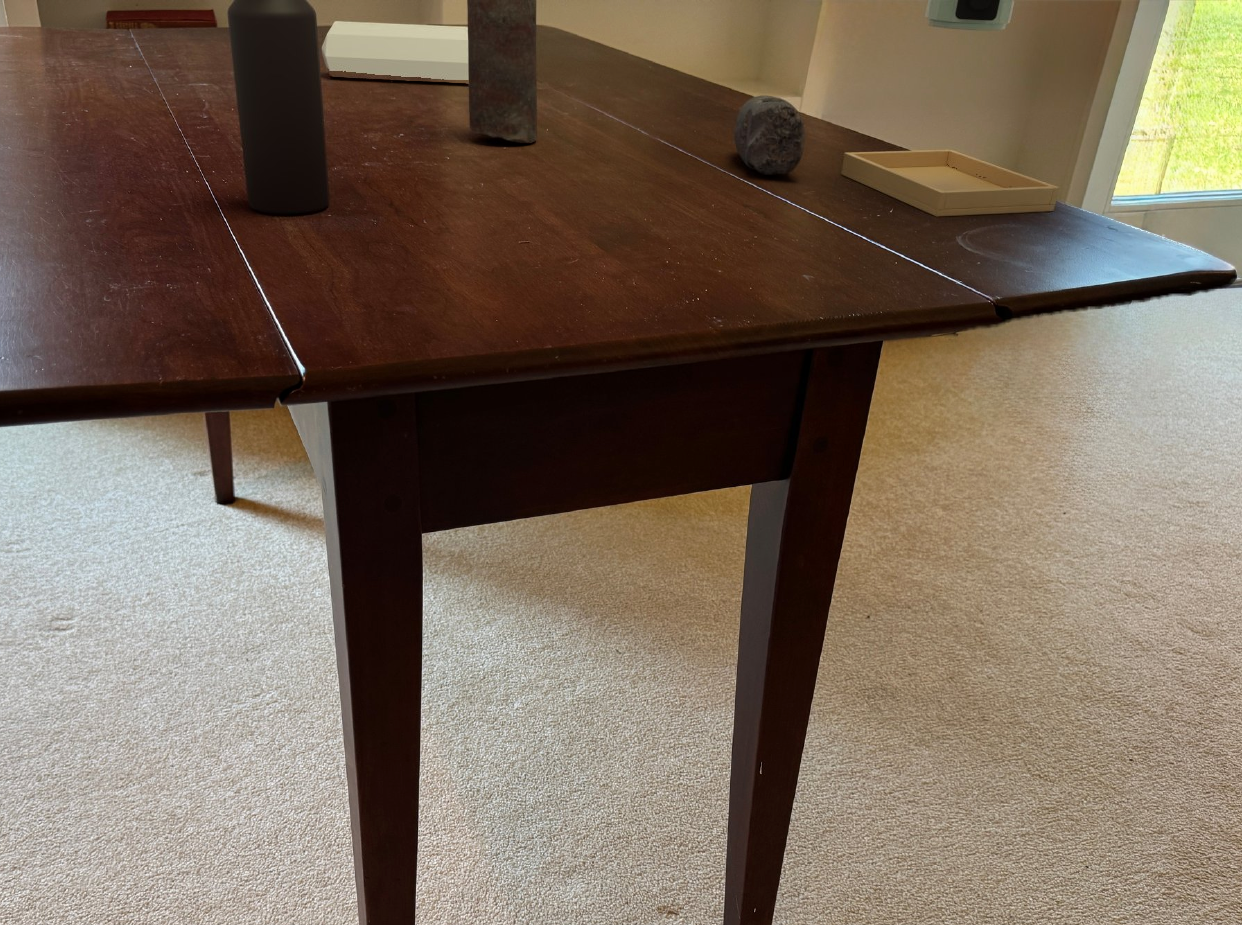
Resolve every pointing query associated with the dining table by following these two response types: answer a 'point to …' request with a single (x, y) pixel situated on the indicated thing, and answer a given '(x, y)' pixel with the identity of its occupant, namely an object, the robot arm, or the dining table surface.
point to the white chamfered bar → (398, 50)
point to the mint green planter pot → (943, 16)
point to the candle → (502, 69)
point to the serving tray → (949, 182)
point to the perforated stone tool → (769, 135)
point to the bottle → (280, 105)
